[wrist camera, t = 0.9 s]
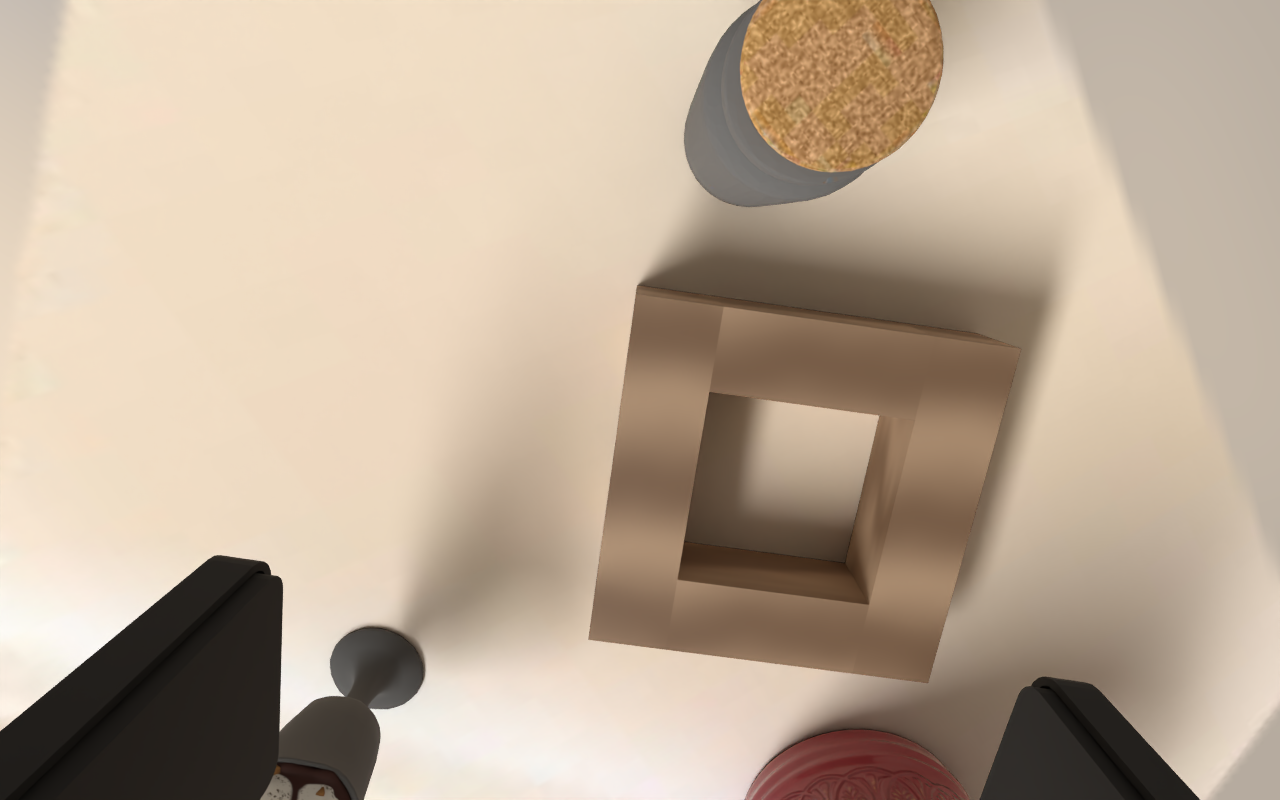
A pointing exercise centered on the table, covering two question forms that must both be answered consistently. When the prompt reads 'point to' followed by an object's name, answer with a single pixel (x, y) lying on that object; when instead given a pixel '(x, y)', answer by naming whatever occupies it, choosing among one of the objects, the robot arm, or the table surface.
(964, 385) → the collar block
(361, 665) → the sundae
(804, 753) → the canister
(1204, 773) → the table surface
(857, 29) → the bottle
